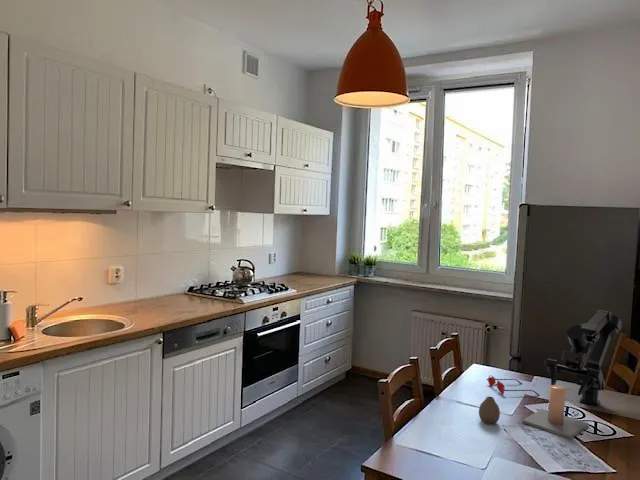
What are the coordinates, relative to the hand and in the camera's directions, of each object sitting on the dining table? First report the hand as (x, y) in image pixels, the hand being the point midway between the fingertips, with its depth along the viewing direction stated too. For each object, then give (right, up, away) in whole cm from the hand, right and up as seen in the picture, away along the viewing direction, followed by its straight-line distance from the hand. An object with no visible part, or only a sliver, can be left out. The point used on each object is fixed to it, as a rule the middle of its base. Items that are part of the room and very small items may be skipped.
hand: (565, 391), depth 182 cm
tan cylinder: (-5, -9, -4) cm, 12 cm away
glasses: (-8, -9, +30) cm, 32 cm away
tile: (-6, -10, -4) cm, 12 cm away
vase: (-29, -10, -5) cm, 31 cm away
